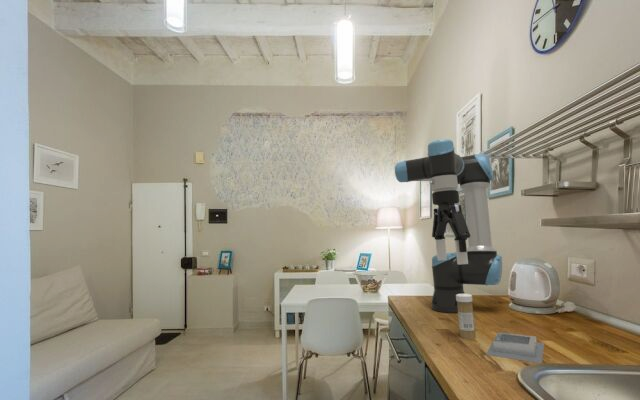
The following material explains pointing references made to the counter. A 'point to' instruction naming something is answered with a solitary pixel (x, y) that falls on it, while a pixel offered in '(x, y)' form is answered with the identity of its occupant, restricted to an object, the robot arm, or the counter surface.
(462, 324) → the sprinkles bottle
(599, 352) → the counter surface
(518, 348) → the metal collar
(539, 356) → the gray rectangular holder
